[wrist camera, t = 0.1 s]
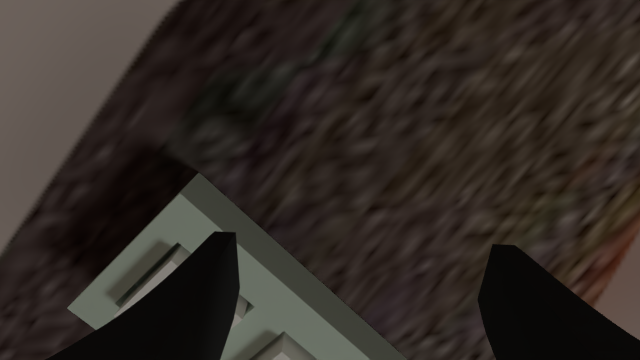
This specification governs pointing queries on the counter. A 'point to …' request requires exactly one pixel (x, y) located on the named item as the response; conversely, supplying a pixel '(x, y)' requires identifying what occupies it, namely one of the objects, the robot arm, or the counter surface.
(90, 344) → the robot arm
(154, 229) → the button board
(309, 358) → the tile one pip
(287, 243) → the counter surface
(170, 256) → the tile two pips
